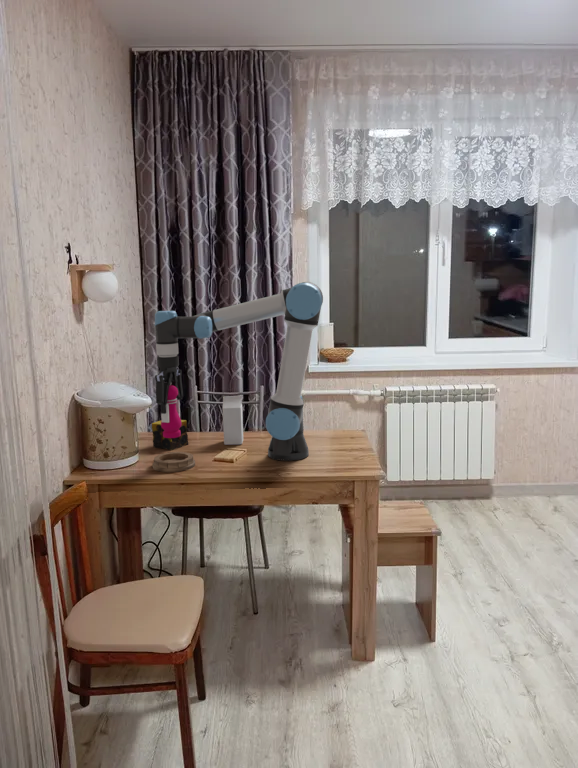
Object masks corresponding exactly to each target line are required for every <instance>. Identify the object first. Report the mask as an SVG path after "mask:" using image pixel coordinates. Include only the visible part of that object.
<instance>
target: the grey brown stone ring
mask: <svg viewBox="0 0 578 768" xmlns="http://www.w3.org/2000/svg"><path fill="white" fill-rule="evenodd" d="M195 466H196V461H195V459H194V454H192V453H191V452H189V451H187V452H186V451H170V452H168V451H167V452H165V453H160V454H157V455H155V456H154V457H153V462H152V469H153V470H155V471H157V472H161V473H177V472H184V471H188V470H191V469H192V468H194V467H195Z"/></svg>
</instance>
